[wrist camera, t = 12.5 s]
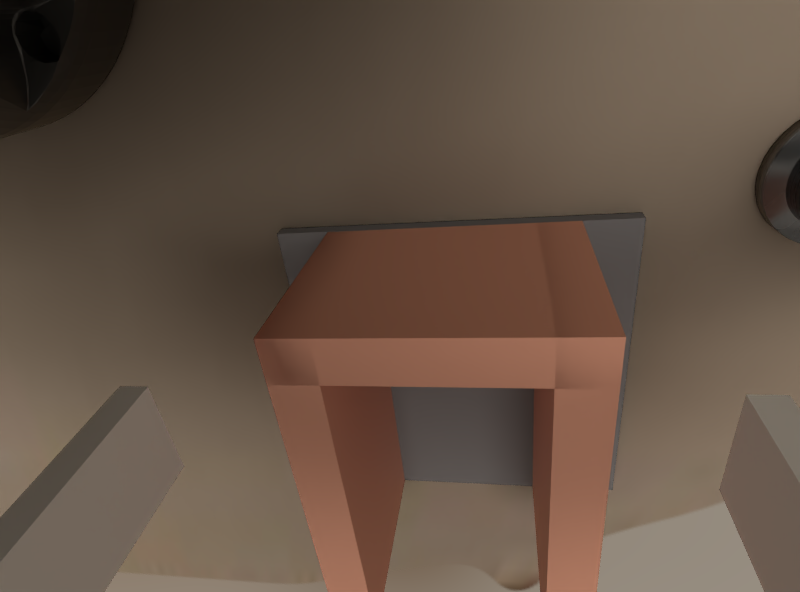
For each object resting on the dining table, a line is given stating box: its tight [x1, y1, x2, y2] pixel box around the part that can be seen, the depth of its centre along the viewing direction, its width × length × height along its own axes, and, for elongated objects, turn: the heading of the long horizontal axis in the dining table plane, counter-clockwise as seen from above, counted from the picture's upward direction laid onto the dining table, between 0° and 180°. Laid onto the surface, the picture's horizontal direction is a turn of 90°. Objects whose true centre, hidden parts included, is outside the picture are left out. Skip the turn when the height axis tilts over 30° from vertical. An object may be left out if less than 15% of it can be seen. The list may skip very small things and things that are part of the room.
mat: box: [277, 213, 646, 490], centre depth 22 cm, size 13×13×1 cm
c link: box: [254, 221, 626, 592], centre depth 19 cm, size 9×13×7 cm
